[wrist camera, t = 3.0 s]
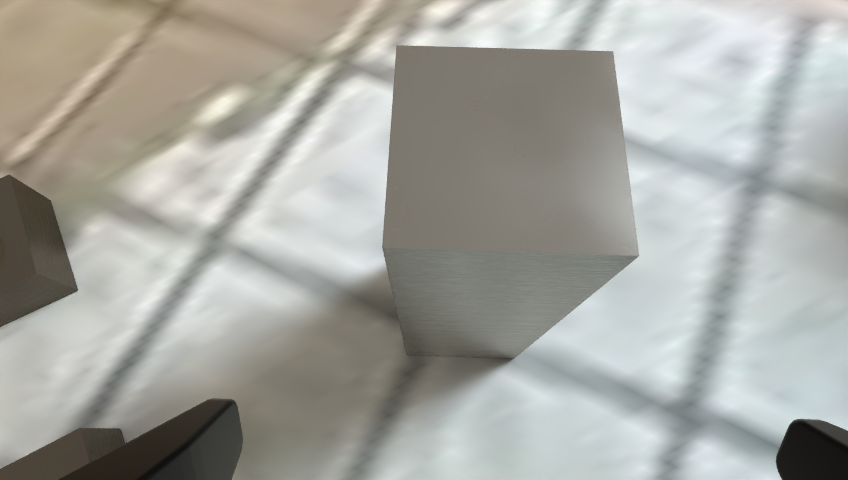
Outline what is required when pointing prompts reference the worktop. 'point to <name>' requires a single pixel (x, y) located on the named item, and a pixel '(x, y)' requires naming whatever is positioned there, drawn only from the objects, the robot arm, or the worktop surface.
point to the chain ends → (30, 290)
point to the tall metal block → (502, 194)
